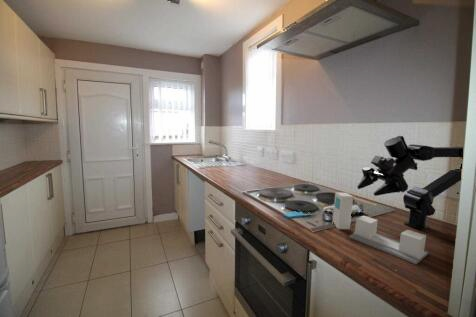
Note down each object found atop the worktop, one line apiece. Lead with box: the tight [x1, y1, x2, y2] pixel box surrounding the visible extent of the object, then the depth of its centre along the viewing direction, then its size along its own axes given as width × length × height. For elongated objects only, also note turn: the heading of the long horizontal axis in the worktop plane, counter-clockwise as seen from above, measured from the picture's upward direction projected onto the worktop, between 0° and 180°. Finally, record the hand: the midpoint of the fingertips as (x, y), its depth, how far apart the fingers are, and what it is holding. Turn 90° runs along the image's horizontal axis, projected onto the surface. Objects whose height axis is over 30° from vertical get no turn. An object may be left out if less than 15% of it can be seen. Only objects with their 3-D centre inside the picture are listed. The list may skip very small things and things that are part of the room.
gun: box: [322, 204, 367, 213], centre depth 110 cm, size 18×4×10 cm
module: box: [332, 192, 354, 230], centre depth 94 cm, size 5×5×13 cm
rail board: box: [349, 215, 429, 265], centre depth 80 cm, size 10×20×7 cm, turn 37°
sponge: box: [282, 210, 312, 219], centre depth 105 cm, size 2×12×6 cm
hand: (365, 191), depth 91 cm, fingers open, 9 cm apart
